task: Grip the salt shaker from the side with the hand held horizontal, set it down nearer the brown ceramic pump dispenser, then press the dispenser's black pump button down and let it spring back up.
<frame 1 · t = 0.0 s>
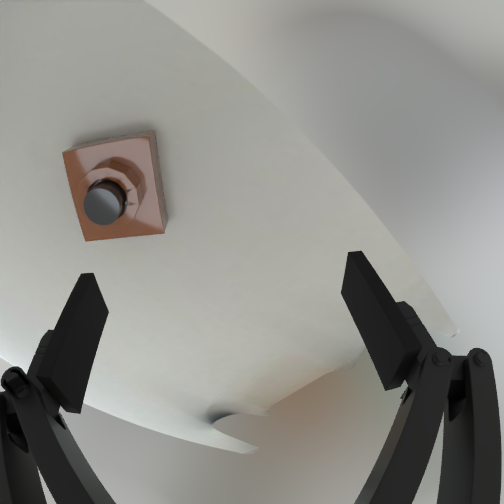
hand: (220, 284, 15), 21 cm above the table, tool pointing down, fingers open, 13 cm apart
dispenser: (119, 183, 32), on the table
pump button: (104, 203, 28), point 6 cm above the table, slide at 0.1 cm
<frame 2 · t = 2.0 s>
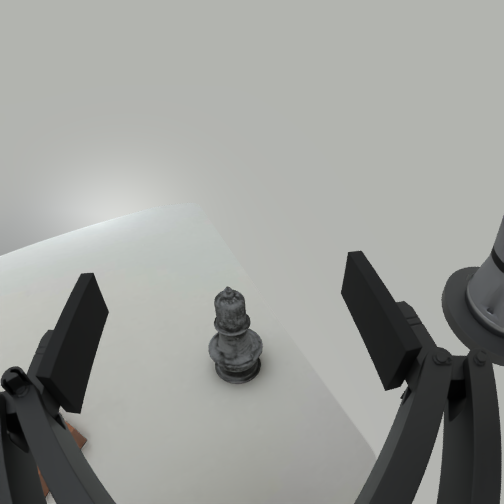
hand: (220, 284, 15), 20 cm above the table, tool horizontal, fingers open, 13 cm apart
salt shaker: (238, 365, 34), on the table
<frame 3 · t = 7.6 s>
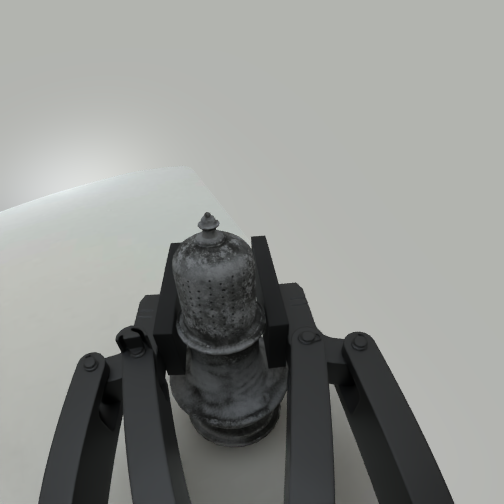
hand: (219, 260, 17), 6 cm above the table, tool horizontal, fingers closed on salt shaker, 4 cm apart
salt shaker: (234, 408, 16), on the table, touching gripper
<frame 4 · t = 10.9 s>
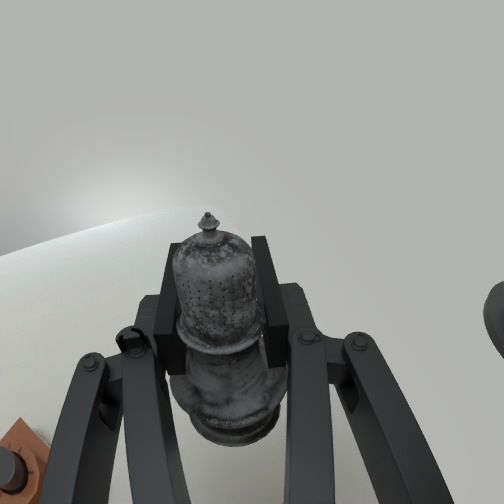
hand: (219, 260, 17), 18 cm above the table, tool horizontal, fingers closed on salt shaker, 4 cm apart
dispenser: (40, 490, 16), on the table
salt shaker: (234, 408, 16), point 11 cm above the table, touching gripper
pump button: (5, 469, 13), point 6 cm above the table, slide at 0.1 cm
when the fingers open (6 cm above the table, at t = 14.3 s): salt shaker stays where it is, on the table.
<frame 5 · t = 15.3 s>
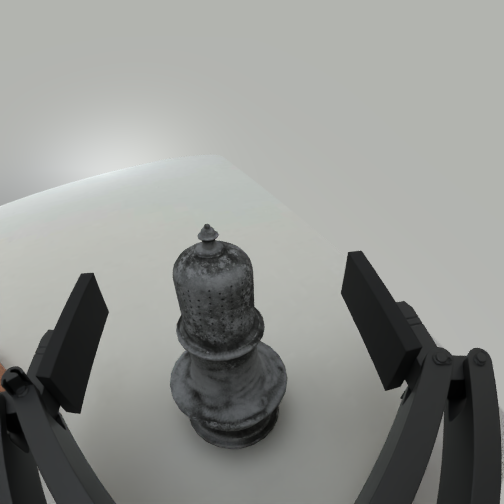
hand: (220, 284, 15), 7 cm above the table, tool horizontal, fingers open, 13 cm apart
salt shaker: (233, 410, 16), on the table
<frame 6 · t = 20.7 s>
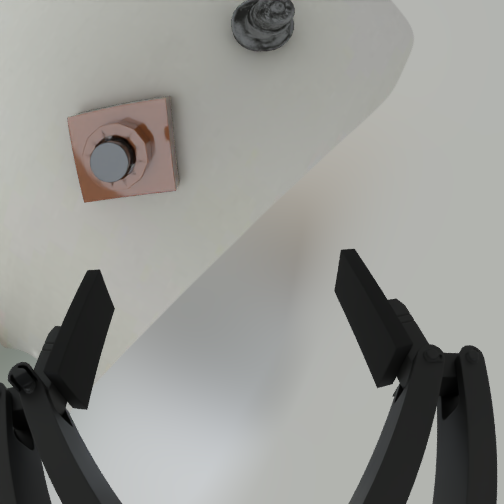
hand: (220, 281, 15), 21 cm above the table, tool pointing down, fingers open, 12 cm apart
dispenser: (127, 146, 31), on the table
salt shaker: (258, 29, 26), on the table
pump button: (111, 159, 26), point 6 cm above the table, slide at 0.1 cm
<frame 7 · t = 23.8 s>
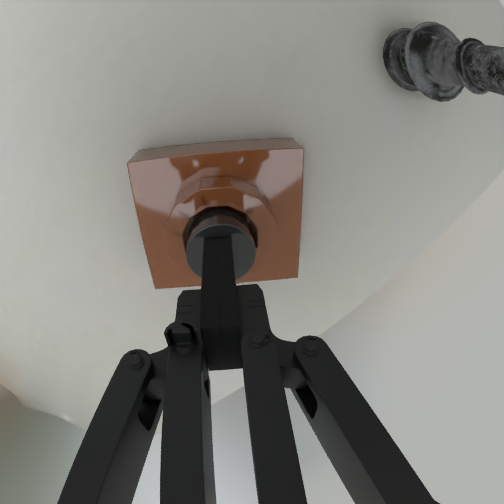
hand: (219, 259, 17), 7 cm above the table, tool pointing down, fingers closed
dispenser: (219, 206, 23), on the table
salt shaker: (410, 59, 18), on the table
pump button: (220, 246, 18), point 6 cm above the table, slide at 0.1 cm, touching gripper
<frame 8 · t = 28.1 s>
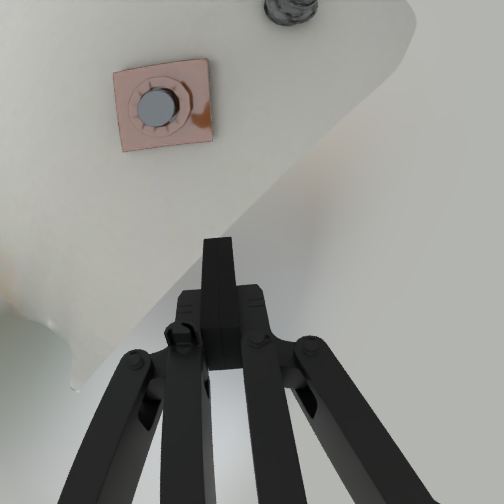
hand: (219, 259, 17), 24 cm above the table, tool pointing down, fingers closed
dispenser: (166, 103, 33), on the table
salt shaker: (285, 7, 28), on the table
pump button: (157, 107, 29), point 6 cm above the table, slide at 0.1 cm
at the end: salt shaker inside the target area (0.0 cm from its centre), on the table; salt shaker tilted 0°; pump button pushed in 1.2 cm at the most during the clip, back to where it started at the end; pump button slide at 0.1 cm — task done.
